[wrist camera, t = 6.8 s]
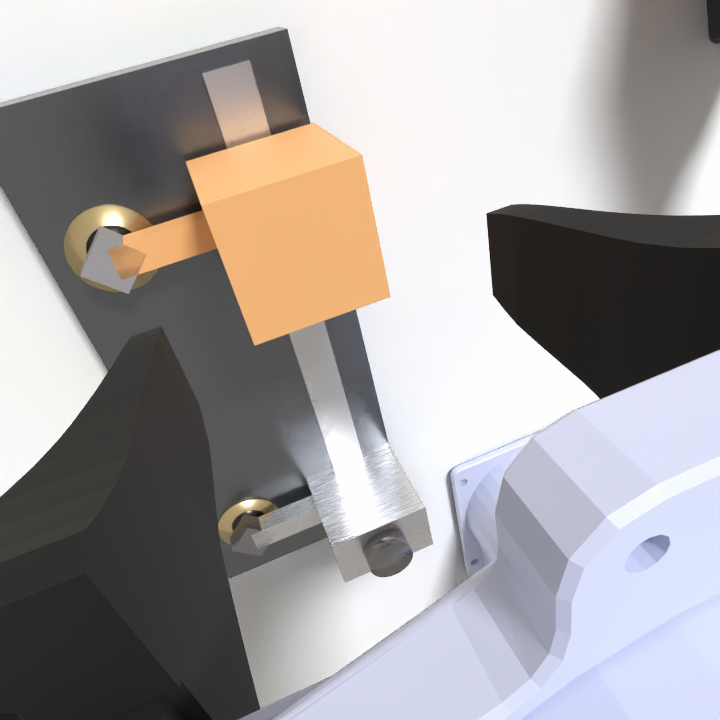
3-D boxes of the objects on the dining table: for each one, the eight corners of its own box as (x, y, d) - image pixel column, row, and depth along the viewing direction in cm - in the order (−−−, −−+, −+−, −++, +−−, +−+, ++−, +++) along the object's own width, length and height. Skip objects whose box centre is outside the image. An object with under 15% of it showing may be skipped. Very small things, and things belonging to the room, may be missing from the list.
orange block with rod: (342, 242, 20) (390, 296, 16) (111, 321, 19) (108, 398, 15) (313, 122, 17) (361, 154, 14) (47, 202, 16) (25, 261, 13)
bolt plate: (394, 488, 30) (446, 583, 25) (225, 558, 28) (245, 674, 23) (278, 27, 17) (335, 37, 13) (-29, 110, 16) (-96, 159, 11)
